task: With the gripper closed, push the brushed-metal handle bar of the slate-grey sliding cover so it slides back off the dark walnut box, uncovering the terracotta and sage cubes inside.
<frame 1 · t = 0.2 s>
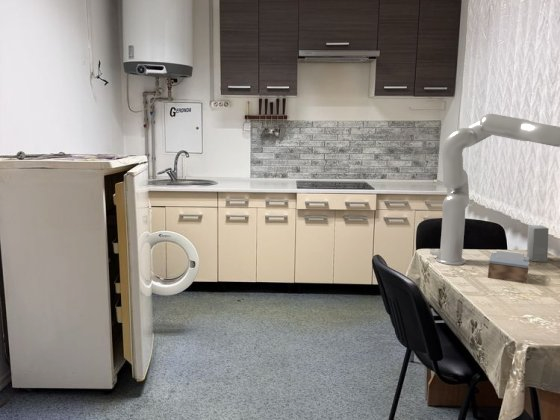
skincare box: (535, 259, 210), on the table
cover: (509, 256, 184), point 8 cm above the table, slide at 0.0 cm
box: (507, 275, 186), on the table
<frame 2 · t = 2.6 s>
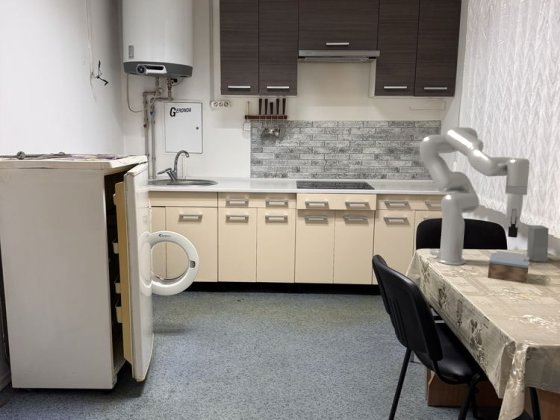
hand: (512, 236, 177), 18 cm above the table, tool pointing down, fingers closed
nothing on the table moved.
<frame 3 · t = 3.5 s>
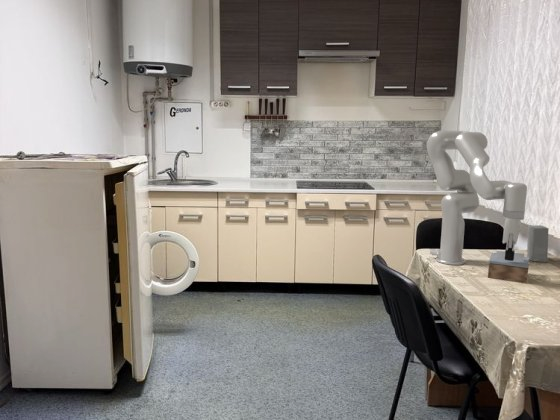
hand: (509, 259, 179), 8 cm above the table, tool pointing down, fingers closed
nothing on the table moved.
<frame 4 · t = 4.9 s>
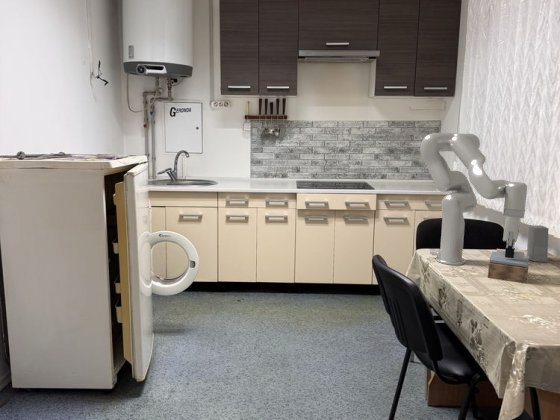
hand: (509, 257, 183), 8 cm above the table, tool pointing down, fingers closed
cover: (509, 255, 185), point 8 cm above the table, slide at 1.4 cm, touching gripper
everything else where it was.
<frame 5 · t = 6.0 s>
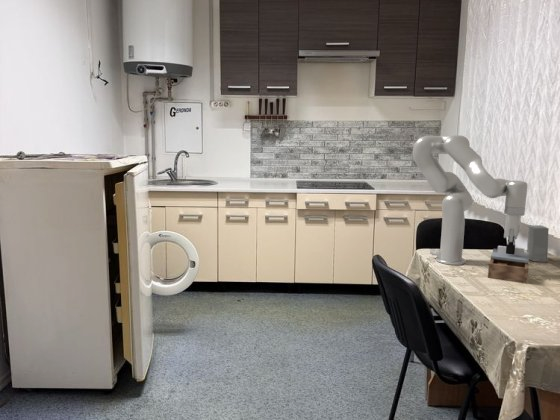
hand: (510, 253, 189), 8 cm above the table, tool pointing down, fingers closed
cover: (510, 252, 191), point 8 cm above the table, slide at 7.8 cm, touching gripper
everything else where it was.
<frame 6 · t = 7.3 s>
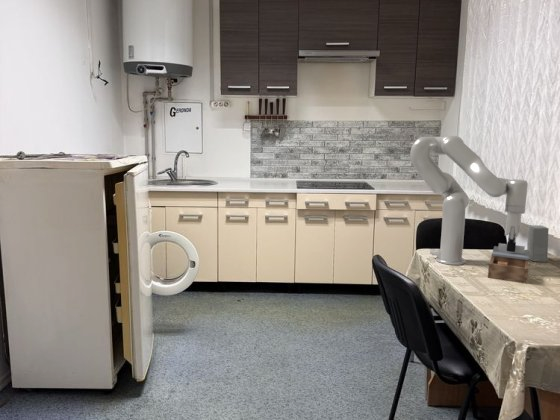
hand: (510, 251, 193), 8 cm above the table, tool pointing down, fingers closed
cover: (511, 249, 195), point 8 cm above the table, slide at 12.6 cm, touching gripper
everything else where it was.
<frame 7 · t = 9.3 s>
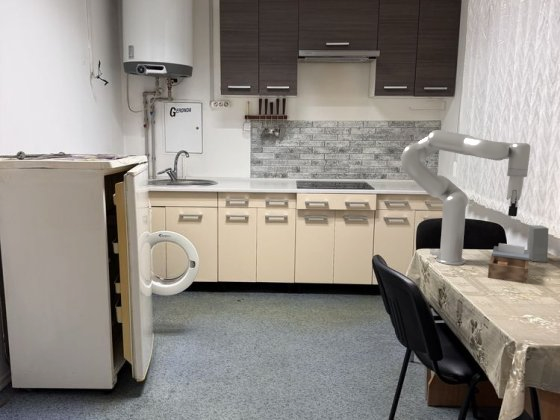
hand: (512, 215, 191), 23 cm above the table, tool pointing down, fingers closed
cover: (511, 249, 195), point 8 cm above the table, slide at 12.7 cm
everything else where it was.
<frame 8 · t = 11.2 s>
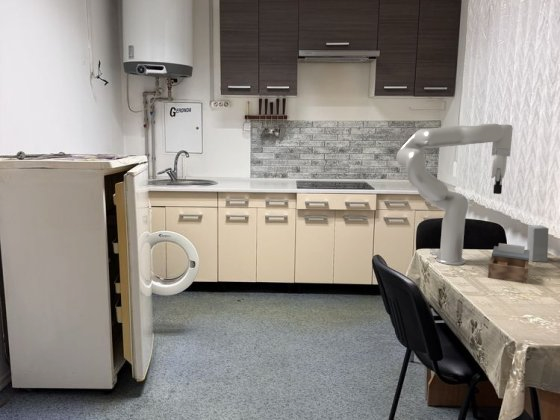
hand: (497, 193, 203), 31 cm above the table, tool pointing down, fingers closed
nothing on the table moved.
at the end: cover slide at 12.7 cm; the gripper is holding nothing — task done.
